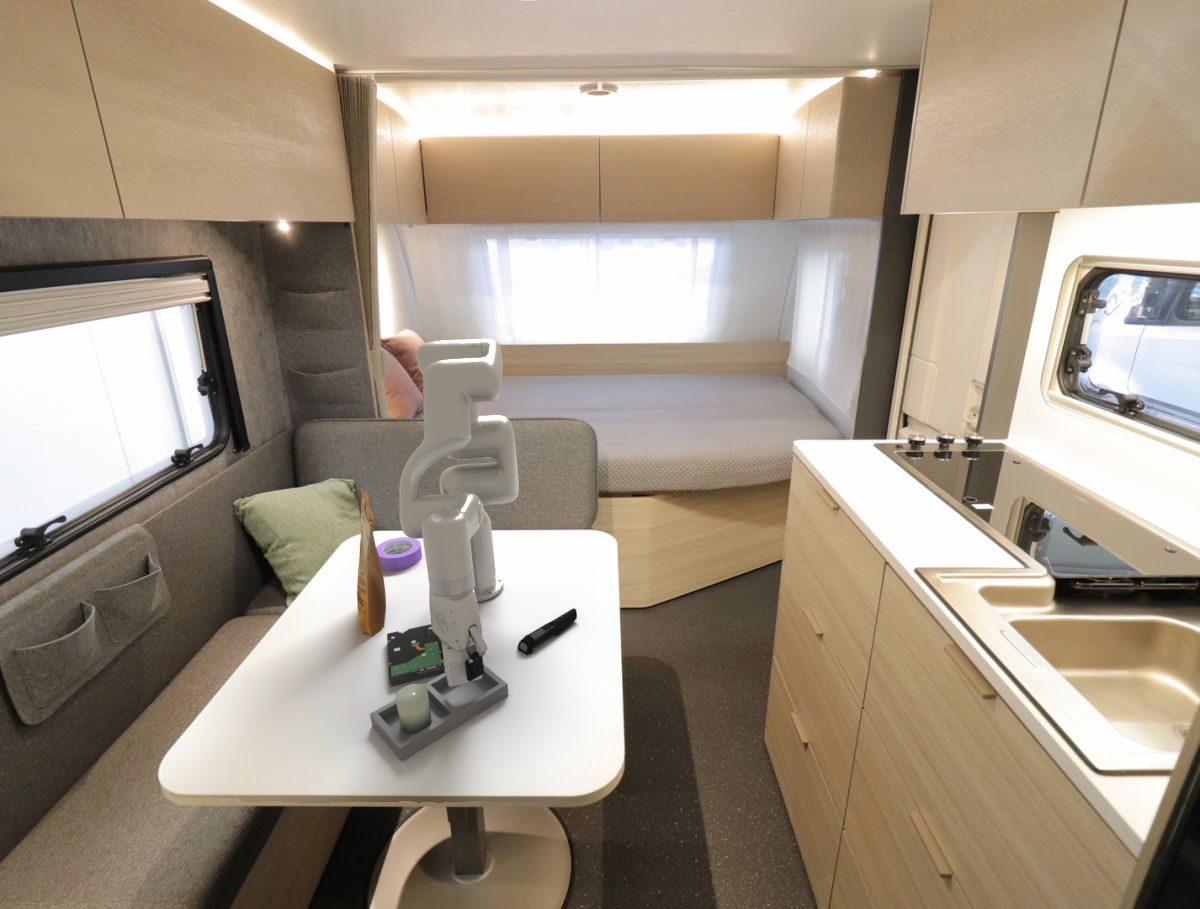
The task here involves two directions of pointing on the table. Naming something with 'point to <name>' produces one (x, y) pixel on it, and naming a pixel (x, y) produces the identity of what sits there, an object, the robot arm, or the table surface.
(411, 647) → the disk drive
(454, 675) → the white box
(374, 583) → the pancake mix bag
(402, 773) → the table surface
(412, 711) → the sage jar
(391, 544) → the masking tape
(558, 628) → the electric trimmer
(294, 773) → the table surface
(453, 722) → the caddy
